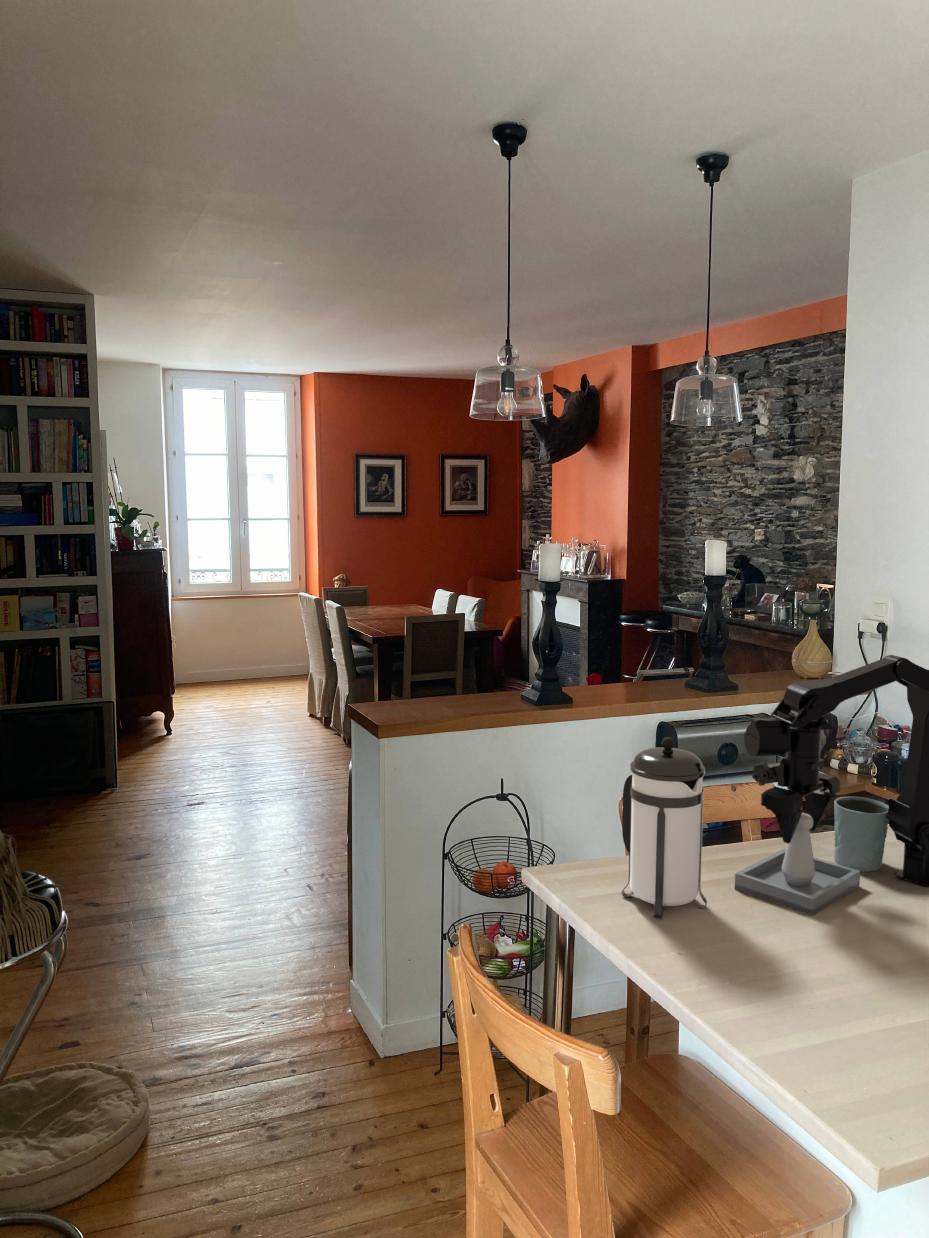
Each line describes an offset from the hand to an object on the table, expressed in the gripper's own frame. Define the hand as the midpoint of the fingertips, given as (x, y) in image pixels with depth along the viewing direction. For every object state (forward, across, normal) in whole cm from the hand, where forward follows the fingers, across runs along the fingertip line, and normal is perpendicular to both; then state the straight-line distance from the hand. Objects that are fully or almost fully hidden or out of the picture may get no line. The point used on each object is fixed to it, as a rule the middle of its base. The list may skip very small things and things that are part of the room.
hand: (799, 836), depth 167 cm
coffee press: (+10, +23, -14) cm, 29 cm away
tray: (+10, 0, 0) cm, 10 cm away
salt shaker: (+9, 0, 0) cm, 9 cm away
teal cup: (+10, -20, +2) cm, 23 cm away
